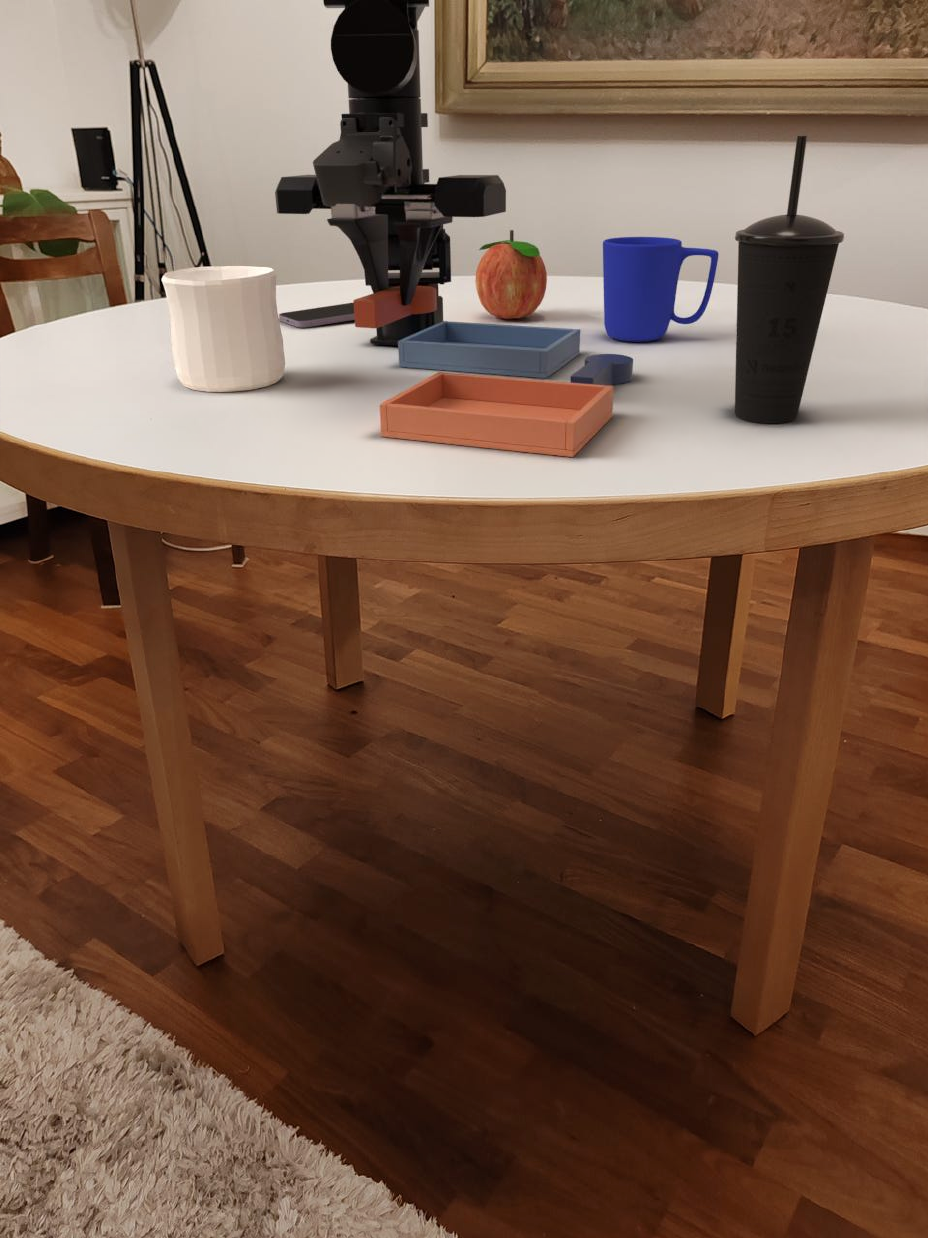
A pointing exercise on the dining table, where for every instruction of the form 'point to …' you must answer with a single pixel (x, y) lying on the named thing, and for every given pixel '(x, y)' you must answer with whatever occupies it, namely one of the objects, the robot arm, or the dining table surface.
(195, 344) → the cup
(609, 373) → the blue spoon
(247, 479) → the dining table surface
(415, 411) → the terracotta tray
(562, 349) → the blue tray
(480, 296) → the fruit
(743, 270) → the drinking cup
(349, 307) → the smartphone
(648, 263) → the mug
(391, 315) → the terracotta spoon
